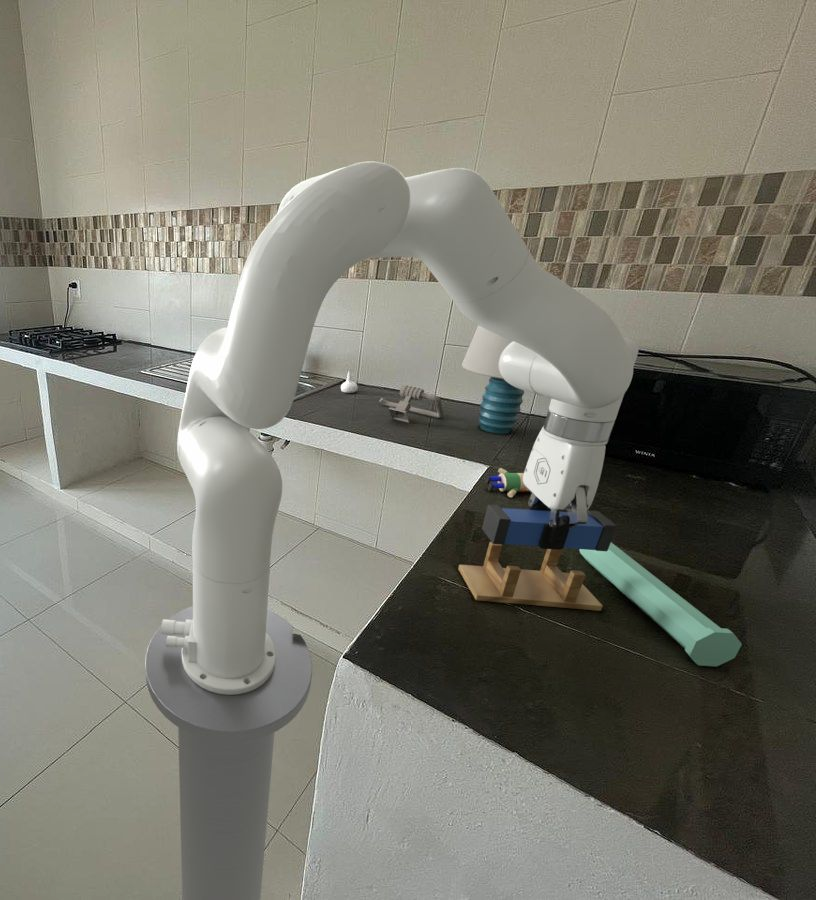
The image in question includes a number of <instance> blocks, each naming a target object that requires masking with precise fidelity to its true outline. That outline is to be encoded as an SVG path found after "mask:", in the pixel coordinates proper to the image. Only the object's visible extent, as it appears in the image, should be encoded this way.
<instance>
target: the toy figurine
mask: <svg viewBox="0 0 816 900" xmlns="http://www.w3.org/2000/svg"><path fill="white" fill-rule="evenodd" d="M497 473H499V474H498V475H494V476H493V475H488V476H486V478H485V480H484V483H485V485H488V486H487V491H488V492H492V491H493V489H499V491H500V492H507V494H506V495H507V497H508V498H513V497H514V496H515V495H516V494H517V493H530V490H529V489H528V488H527V487H526V486H525V484H524V483H523V475H524V472H509V471H508V470H506V469H504V468H502V467H499V468H498V470H497Z"/></svg>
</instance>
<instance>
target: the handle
mask: <svg viewBox="0 0 816 900" xmlns="http://www.w3.org/2000/svg"><path fill="white" fill-rule="evenodd" d="M550 512H551V511H541V510H528V509H521V508H505V507H504V508H503V507H501V506H500V505H499V504H487V506H486V510H485V515H484V518H483V522H482V525H481V530H482V531H483V532H484V534H485V535H486V536H487V538H488V540H490V542H492V543H493V544H501V545H502V546H504V545H512V546H526V547H540V546H539V541H540V538H541V535H542V532H543V528H544V525H545V523H548V524H549V518H550ZM563 515H567V512H565V511H560V513H559V517H561V516H563ZM587 519H588V521H587V523H586V524H577V525H575V526H574V527H573V528H572V529H571V528H570V529H569V532H568V535H567V538H566V541H565V544H564V547H563V549H572V550H573V549H574V550H579V549H586V550H596V551H608V548H609V546H610V543H612V541H613V537H614V534H615V532H616V530H617V527H618V525H616V524H615V523H614V522H613V521H612V520H610V519H609V518H607V516H605V515H604V514H603V513H602V512H600V511H599V510H589V509H588V510H587Z"/></svg>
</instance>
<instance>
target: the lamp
mask: <svg viewBox="0 0 816 900" xmlns="http://www.w3.org/2000/svg"><path fill="white" fill-rule="evenodd" d="M511 342H513V341H512V340H510V339H507V338H505V337H502V336H500V335H497V334H495V333H493V332H491V331H489V330H487V329H485V328H483V327H481V326H480V325H478V324H477V328H476V330H475V332H474V335H473V337H472V340H471V342H470V344H469V346H468V348H467V351H466V354H465V356H464V358H463V361H462V362H461V368H462V369H464V370H466V371H467V372H471V373H472V374H477V375H480V376H485V377H489V378H488V384H487V385H485V387H484V393H483V394H482V396H481V397H482V400H481V402H480V404H479V406H480V410H479V412H478V415H479V418H478V420H477V421H478V424H479V429H480V430H482V431H484V432H487V433H492V434H497V435H506V434H509V433H511V430H512V429H514V427H515V423H516V422H517V421H518V414H519V413H520V412H522V411H521V410H522V409H521V405H522V404H523V401H524V400H523V396H524V394H525V391H524V390H521V389H518V388H516V387H514V386H512V385H510V384H509V383H508V382H506V381H505V380H504V378H503V377H502V376H501V374H500V371H499V359H500V356H501V354H502V352H503V351H504V349H505V348H506V347H507V346H508V345H509V344H510V343H511Z"/></svg>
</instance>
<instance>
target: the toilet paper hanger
mask: <svg viewBox="0 0 816 900" xmlns="http://www.w3.org/2000/svg"><path fill="white" fill-rule="evenodd" d="M398 392H399V393H398V394H399V396H400V397H401V398H404V399H403V400H399V402H398V403H397V402H392V401H389V400H386V399H385V398H383V397H381V398H380V399H379V401H378V402H379V403H380V404H382V405H383V406H386V407H389V408H388V412H389V413H390V416H391V418H392V420H397V421H401V422H405V423H410V418H409V415H408V414H409V412H410V413H414V414H417V415H422V416H426V417H432V418H436V419H442V418H444V415H445V412H444V409H443V405H442V400H441V398H440V397H439V396H437V395H436V394H434V393H427V392H425V389H423V388H420V387H416V386H412V385H410V386H409V385H402V386H401V387H400V389H399V391H398ZM423 399H425V400H430V401H433V402H434V404H435V408H436V411H432V410H427V409H423V408H419V407H414V406H411V404H410V403H411V402H412V401H413V400H414V401H422V400H423Z"/></svg>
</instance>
